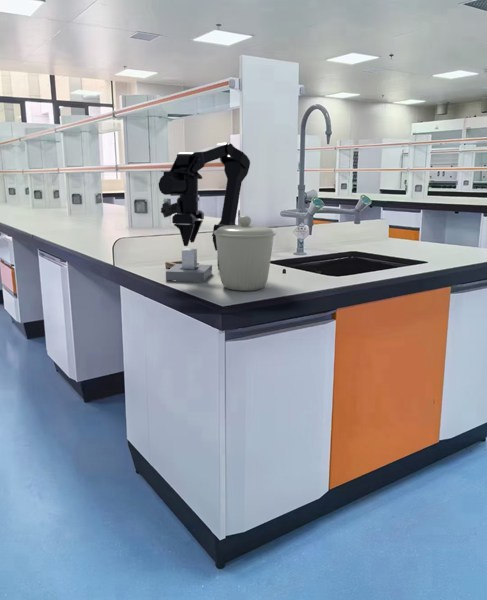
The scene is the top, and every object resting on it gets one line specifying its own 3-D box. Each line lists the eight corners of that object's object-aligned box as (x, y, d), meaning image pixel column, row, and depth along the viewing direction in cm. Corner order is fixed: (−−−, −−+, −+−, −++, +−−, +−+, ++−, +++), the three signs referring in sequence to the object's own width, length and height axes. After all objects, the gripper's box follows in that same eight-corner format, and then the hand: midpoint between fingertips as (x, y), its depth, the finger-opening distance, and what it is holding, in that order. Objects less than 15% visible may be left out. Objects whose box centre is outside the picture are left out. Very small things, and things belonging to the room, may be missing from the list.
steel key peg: (185, 275, 171) (184, 248, 169) (197, 276, 171) (196, 248, 169) (182, 278, 168) (181, 250, 165) (194, 278, 167) (194, 250, 165)
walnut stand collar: (186, 265, 190) (185, 259, 190) (199, 268, 184) (198, 263, 183) (165, 267, 185) (165, 262, 185) (178, 271, 179) (178, 265, 178)
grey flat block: (211, 273, 175) (211, 264, 175) (203, 282, 162) (203, 272, 161) (176, 272, 177) (176, 263, 176) (165, 280, 163) (165, 271, 162)
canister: (243, 278, 168) (244, 212, 163) (286, 287, 156) (289, 216, 151) (200, 287, 155) (200, 215, 150) (244, 297, 143) (246, 219, 138)
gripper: (170, 192, 173) (171, 239, 176) (154, 194, 155) (156, 247, 158) (204, 193, 172) (204, 240, 175) (192, 195, 154) (192, 248, 157)
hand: (189, 244), depth 167 cm, fingers open, 9 cm apart
